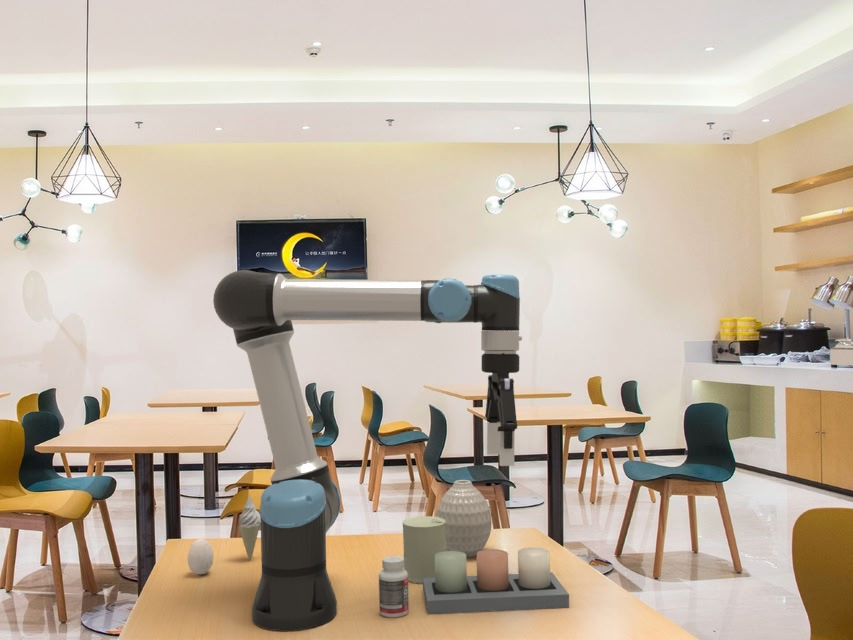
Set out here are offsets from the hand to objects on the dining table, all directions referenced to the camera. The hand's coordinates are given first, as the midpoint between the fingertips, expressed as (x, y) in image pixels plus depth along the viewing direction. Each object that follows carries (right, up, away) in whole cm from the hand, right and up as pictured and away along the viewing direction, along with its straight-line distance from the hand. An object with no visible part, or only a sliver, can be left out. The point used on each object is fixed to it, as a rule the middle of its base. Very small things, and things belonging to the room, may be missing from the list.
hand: (500, 459), depth 149 cm
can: (-15, -26, +8) cm, 31 cm away
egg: (-63, -27, +13) cm, 70 cm away
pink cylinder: (-2, -23, -6) cm, 24 cm away
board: (-2, -25, -6) cm, 26 cm away
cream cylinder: (+6, -23, -5) cm, 24 cm away
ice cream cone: (-55, -27, +22) cm, 65 cm away
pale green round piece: (-10, -23, -6) cm, 26 cm away
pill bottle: (-20, -26, -12) cm, 35 cm away
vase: (-6, -26, +24) cm, 36 cm away
